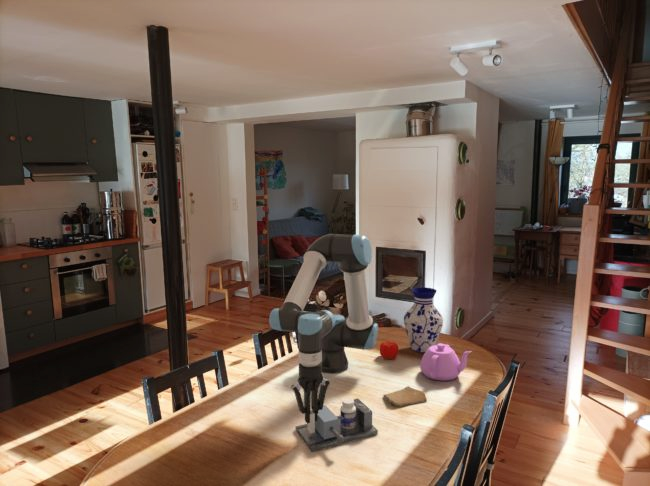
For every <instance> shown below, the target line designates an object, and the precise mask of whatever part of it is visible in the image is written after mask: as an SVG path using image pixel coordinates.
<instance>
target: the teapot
mask: <svg viewBox="0 0 650 486" xmlns="http://www.w3.org/2000/svg"><path fill="white" fill-rule="evenodd" d="M472 352H473V350H467V351H464V352H463V353H462V357H461V361H460V359H459V357H458V355H457V354H456V352H455V350H454V349H453V348H451V346H450V345H449V344H444V343H441V342H440V343H439V342H438V343H436V345H434V346H431V347H429V349H428V350H427V351H426V352H425V353H423V355H422V358H421V360H420V365H419V366H420V367H419V368H420V371H421V372H422V373H423V375H424V376H425V377H427V378H429V379H431V380H434V381H435V380H436V381H441V382H442V381H443V382H445V381H447V382H448V381H452V380H454V379H456V378H457V377H458V376H459V375H460V374H461V372H463V371H464V370H465V369H466V366H467V361H468V360H467V359H468V356H469V354H470V353H472Z"/></svg>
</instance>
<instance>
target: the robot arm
mask: <svg viewBox="0 0 650 486" xmlns="http://www.w3.org/2000/svg"><path fill="white" fill-rule="evenodd" d="M372 253H373V252H372V246H371V242H370V240H369V237H367V236H366V235H359V234H339V233H338V234H337V233H336V234H335V233H328V234H325V235H322V236H321V237H319V238H317V239H316V240H314V242H312V243H311V244H310V245H309V246H308V248H307V249H306V251H305V253H304V254H303V258H302V259H303V263H302V264H301V267H300V269H299V270H298V273H297V275H296V277H295V279H294V281H293V283H292V286H291V288H290V289H289V291H288V294H287V295H286V297H285V299H284V302H283V304H282V306H281V307H277V308H273V309H272V310H271V311H270V314H269V319H268V322H269V325H270V326H269V327H270V328H271V329H272V330H276V331H280V332H290V333H298V334H297V338H298V339H297V340H298V379H297V382H296V383H295V384H291V386H290V387H291V388H290V389H292V391H293V392H294V397H295V400H296V404H297V407H298V411H300V413H301V414H302V415H304V421H305V424H307V426H308V431H309V432H310V433H314V432H315V421H317V414H318V413H319V412H318V411H319V410H322V409H323V406H324V405H325V404H324V403H325V400H326V395H327V389H328V388H329V385H330V383H331V381H330V380H328V379H327V378H326V377H324V376H323V374H338V373H343V372H345V371H347V370H348V369H349V359H348V357H347V354H346V351H345V348H350V349H351V348H352V349H357V350H358V349H359V350H367V351H371V350H373V349H374V348H375V346H376V343H377V339H378V334H379V324H378V323H377V322H374V318H373V317H372V316H371V315H370V313H369V302H368V293H367V284H366V283H367V282H366V281H367V280H366V272H365V270H367V269H368V267H369V265H370V264H371V262H372V257H373V256H372V255H373V254H372ZM330 263H331V264H338V267H339V270H340V271H341V272H342V273H343V277H344V278H343V280H344V286H345V294H346V302H347V303H346V304H347V311H348V317H347V319H346V318H345V316H344V315H342V314H333V313H332V311H330V310H327V309H322V310H319V311H317V312H313V311H305V310H304V309H305V307H306V305H307V303H308V302H309V301H308V300H309V299H310V296H311V294H312V291H313V289H314V287H315V285H316V282H317V280H318V278H319V275H320V273H321V271H322V270H323V269H324V268H326V266H327V264H330ZM300 387H301V388H302V390H303V399H302V395H301V392H300V390H301V388H300Z"/></svg>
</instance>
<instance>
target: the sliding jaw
mask: <svg viewBox="0 0 650 486" xmlns="http://www.w3.org/2000/svg"><path fill="white" fill-rule="evenodd" d="M318 412H319V413H318V414H317V421H315V429H316V430H317V431H318V432H319V434H320V435H321V436H322V437H323V439H324V440H325V439H329V438H333V437H337V441H338V442H340V443H341V442H343V441H344V437H343V436H342V435H339V434H338V418H337V417H336V415H335V414H334V413H333V411H331V409H330V408H329V407H328V406H327V405H325V404H323V409H322V410H319V411H318Z"/></svg>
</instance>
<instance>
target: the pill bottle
mask: <svg viewBox="0 0 650 486" xmlns="http://www.w3.org/2000/svg"><path fill="white" fill-rule="evenodd" d="M341 403H342V405H341V406H340V415H341V426H342V427H343V428H346V429H351V428H354V427H355V426H356V407H355V406H354V399H353V398H351V397H347V398H343V399H342V401H341Z"/></svg>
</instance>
